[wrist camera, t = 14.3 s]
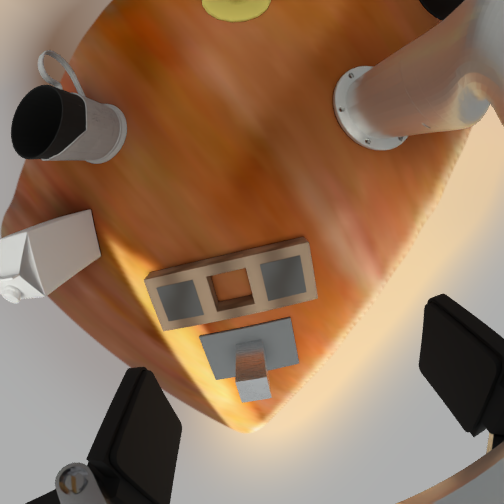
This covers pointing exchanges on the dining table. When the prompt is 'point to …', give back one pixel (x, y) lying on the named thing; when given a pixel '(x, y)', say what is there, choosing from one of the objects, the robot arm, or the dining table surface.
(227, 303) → the rail
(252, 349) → the grey rectangular block
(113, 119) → the glass holder
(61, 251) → the milk carton
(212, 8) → the candle
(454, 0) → the aerosol can
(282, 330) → the mat
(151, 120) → the dining table surface
